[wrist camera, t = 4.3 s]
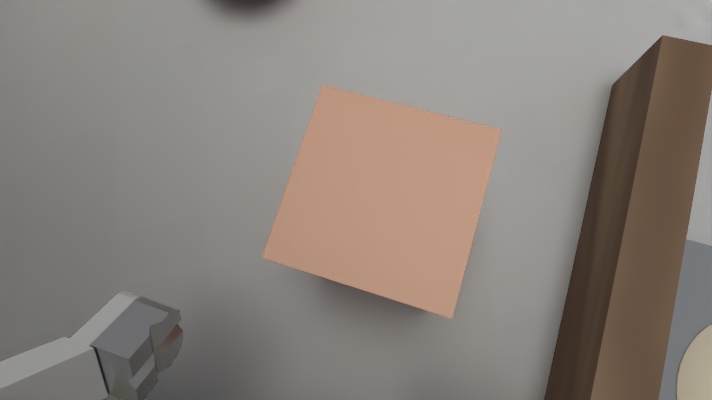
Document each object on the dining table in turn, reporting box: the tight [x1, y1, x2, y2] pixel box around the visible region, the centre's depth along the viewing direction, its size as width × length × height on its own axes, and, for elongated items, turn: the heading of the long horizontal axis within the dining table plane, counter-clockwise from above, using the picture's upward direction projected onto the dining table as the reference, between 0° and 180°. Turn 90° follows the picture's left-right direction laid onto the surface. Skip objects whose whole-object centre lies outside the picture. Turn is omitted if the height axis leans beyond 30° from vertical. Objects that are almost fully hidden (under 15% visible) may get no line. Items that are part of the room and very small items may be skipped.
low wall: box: [545, 36, 712, 400], centre depth 17 cm, size 2×20×4 cm, turn 163°
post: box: [262, 85, 502, 318], centre depth 16 cm, size 5×5×9 cm
